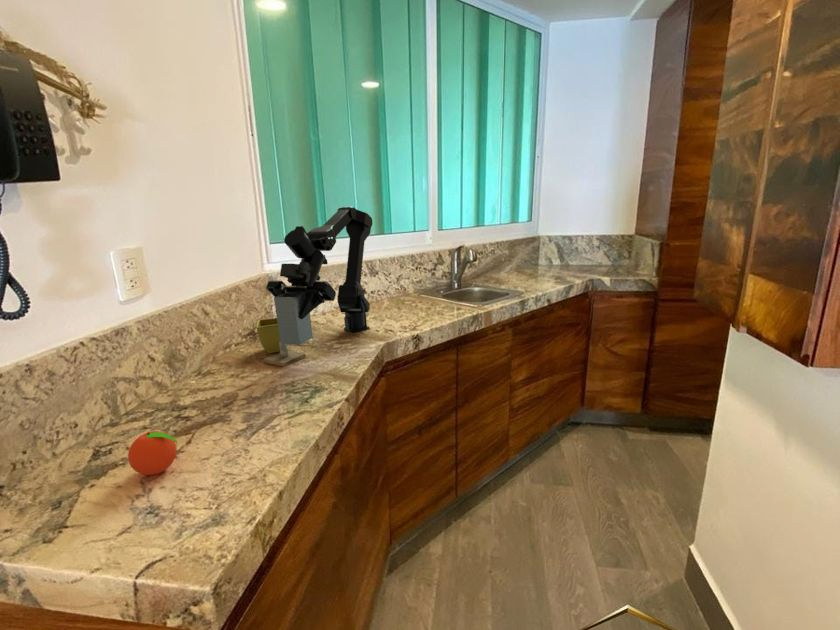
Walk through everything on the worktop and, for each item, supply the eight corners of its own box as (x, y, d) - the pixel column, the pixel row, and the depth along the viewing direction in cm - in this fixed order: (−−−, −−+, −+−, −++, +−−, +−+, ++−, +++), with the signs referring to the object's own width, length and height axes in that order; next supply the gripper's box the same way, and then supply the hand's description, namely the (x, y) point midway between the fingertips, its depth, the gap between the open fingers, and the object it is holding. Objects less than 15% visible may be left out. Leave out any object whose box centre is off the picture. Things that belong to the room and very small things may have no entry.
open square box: (294, 336, 123) (288, 292, 119) (312, 337, 121) (307, 292, 117) (280, 343, 117) (273, 297, 114) (299, 345, 115) (293, 298, 112)
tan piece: (286, 353, 130) (284, 336, 129) (305, 357, 126) (303, 340, 125) (264, 362, 124) (261, 345, 122) (284, 366, 119) (281, 348, 118)
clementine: (194, 457, 78) (186, 421, 76) (174, 482, 71) (165, 442, 69) (147, 460, 78) (139, 423, 76) (123, 485, 71) (113, 445, 69)
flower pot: (260, 356, 128) (255, 326, 126) (262, 347, 136) (258, 319, 134) (291, 352, 130) (288, 323, 128) (292, 344, 139) (288, 316, 136)
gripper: (265, 251, 120) (242, 300, 113) (325, 250, 113) (305, 303, 106) (286, 274, 129) (267, 322, 122) (343, 275, 122) (326, 325, 115)
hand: (290, 317), depth 116 cm, fingers closed on open square box, 6 cm apart
